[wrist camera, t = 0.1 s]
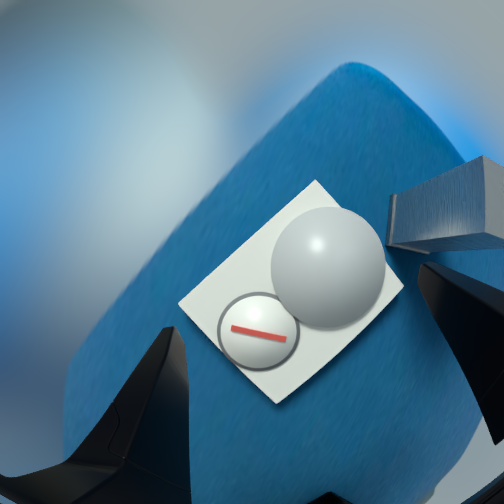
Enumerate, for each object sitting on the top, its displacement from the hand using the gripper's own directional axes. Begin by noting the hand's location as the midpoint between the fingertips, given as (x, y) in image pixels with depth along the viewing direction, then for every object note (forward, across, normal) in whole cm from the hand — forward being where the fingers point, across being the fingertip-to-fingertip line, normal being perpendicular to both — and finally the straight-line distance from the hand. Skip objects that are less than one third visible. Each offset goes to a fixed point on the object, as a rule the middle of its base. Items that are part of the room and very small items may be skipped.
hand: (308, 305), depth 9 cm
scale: (+12, -1, +10) cm, 15 cm away
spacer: (+13, -14, +7) cm, 20 cm away
